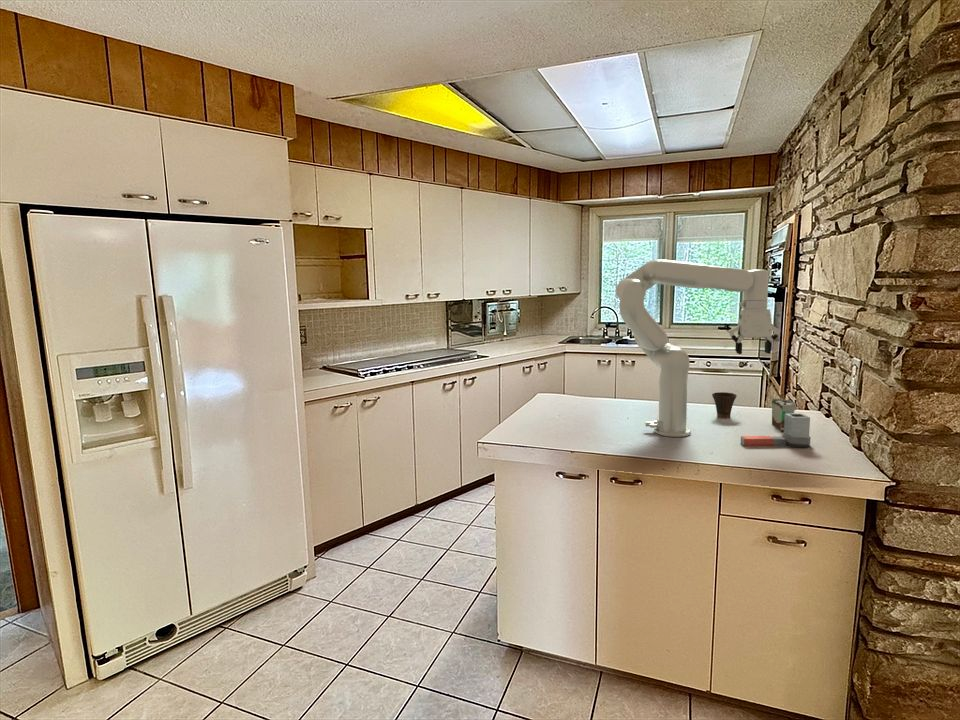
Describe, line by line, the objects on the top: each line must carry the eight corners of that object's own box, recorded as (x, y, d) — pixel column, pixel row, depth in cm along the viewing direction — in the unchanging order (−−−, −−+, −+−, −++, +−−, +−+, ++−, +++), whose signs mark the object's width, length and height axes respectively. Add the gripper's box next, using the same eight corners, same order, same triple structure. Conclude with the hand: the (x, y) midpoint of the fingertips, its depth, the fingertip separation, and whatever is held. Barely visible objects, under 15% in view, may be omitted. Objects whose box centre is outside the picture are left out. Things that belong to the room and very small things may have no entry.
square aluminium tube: (791, 438, 174) (792, 417, 173) (783, 433, 179) (784, 413, 178) (808, 438, 174) (810, 417, 172) (800, 433, 179) (801, 413, 178)
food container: (800, 433, 188) (802, 406, 187) (781, 433, 190) (783, 405, 188) (788, 424, 200) (789, 398, 199) (770, 424, 202) (771, 398, 200)
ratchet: (746, 448, 175) (747, 430, 174) (737, 441, 183) (738, 423, 182) (814, 448, 173) (816, 429, 172) (802, 441, 180) (803, 423, 180)
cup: (728, 420, 206) (726, 394, 206) (708, 418, 214) (707, 393, 214) (743, 417, 210) (741, 392, 210) (723, 416, 218) (721, 391, 218)
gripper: (733, 306, 185) (731, 355, 188) (786, 305, 183) (783, 354, 186) (725, 305, 192) (724, 352, 195) (776, 303, 191) (774, 351, 193)
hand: (753, 353), depth 190 cm, fingers open, 9 cm apart
